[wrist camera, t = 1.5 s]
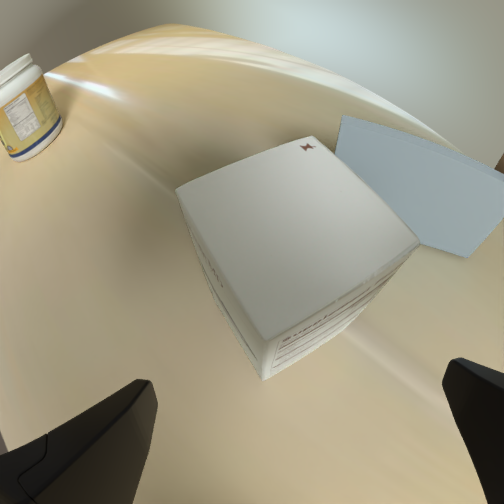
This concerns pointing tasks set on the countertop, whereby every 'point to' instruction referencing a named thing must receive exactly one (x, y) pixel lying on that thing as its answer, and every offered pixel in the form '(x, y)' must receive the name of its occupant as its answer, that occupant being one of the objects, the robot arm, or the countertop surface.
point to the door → (425, 184)
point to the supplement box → (292, 247)
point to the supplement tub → (26, 110)
